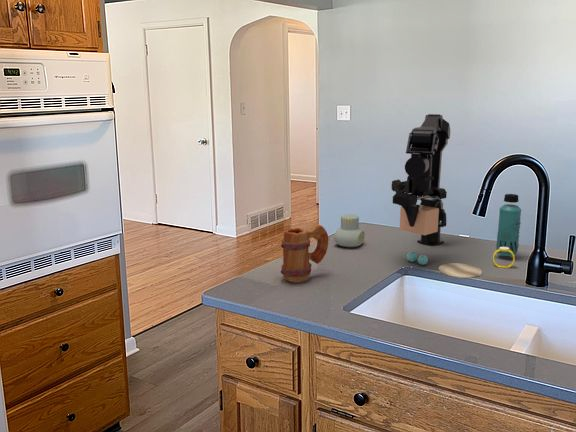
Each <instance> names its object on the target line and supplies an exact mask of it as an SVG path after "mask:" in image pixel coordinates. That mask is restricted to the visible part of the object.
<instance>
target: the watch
mask: <svg viewBox="0 0 576 432" xmlns="http://www.w3.org/2000/svg"><path fill="white" fill-rule="evenodd" d="M499 251H508V252H510V253H511V254H512V256H511V257H512V261H511V262H510V264H508V265H503V264H498V263H497V262H496V259H495V258H496V257H495V256H496V255H497V252H499ZM515 256H516V255H515ZM515 256H514V254H513V252H512V251H511V250H509V248H508V247H500V248H499V249H498V250H496V249H495V251H494V252H493V254H492V260H493V264H494V265H495V267H497V268H503V269H505V268H506V269H509V268H511V267H513V265H514V263H515V258H516V257H515Z"/></svg>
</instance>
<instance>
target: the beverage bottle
mask: <svg viewBox="0 0 576 432" xmlns="http://www.w3.org/2000/svg"><path fill="white" fill-rule="evenodd" d="M503 201H504V202H506V203H507V204H503V205H501V206H500V207H499V216H498V227H497V228H498V229H497V234H496V244H495V246H496V247H495V251H496V250H498V249H499V248H500V247H508V248H509V250H511V251H512V252H513V254H514V256H517V255H518V252H519V246H520V243H519V241H520V228H521V223H522V222H521V214H522V213H521V212H522V208H520V207H519V205H517V204H514V203H519V195H518V194H513V193H506V194H504V199H503ZM508 203H512V204H508ZM497 254H498V255H500V256H505V257H513V256H512V254H511V253H510V252H508V251H499V252H497V253H496V255H497Z"/></svg>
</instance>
